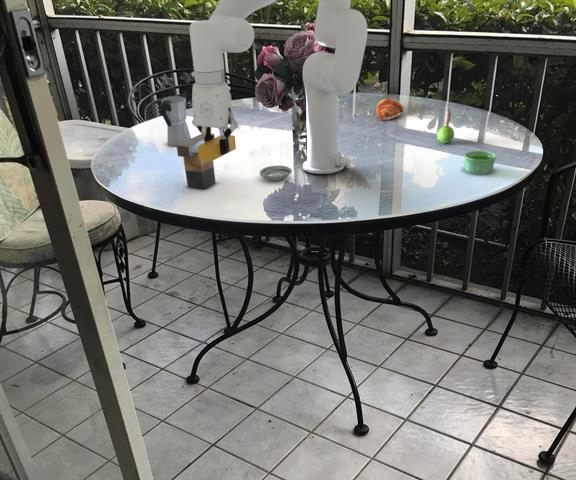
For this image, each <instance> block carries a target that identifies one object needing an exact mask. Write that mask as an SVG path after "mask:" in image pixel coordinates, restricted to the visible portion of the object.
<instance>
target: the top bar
mask: <svg viewBox="0 0 576 480" xmlns="http://www.w3.org/2000/svg"><path fill="white" fill-rule="evenodd" d="M220 139H221V136H220V135H218V136H215V138H214V139H212V140H209V141H207V142H205V143H203V144H201V145H199V146H197V147H198V155H199V160H206V161H213V162H214V161H215V160H217V159H219V158H222V157H223V156H225V155H227V154H229V153H231V152H233V151H235V150H236V148H237V146H236V136H235V135H232V134H231V135H230V137H228V140H229V152H228V153H226V154H224V155H221V151H220V143H219V140H220Z"/></svg>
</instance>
